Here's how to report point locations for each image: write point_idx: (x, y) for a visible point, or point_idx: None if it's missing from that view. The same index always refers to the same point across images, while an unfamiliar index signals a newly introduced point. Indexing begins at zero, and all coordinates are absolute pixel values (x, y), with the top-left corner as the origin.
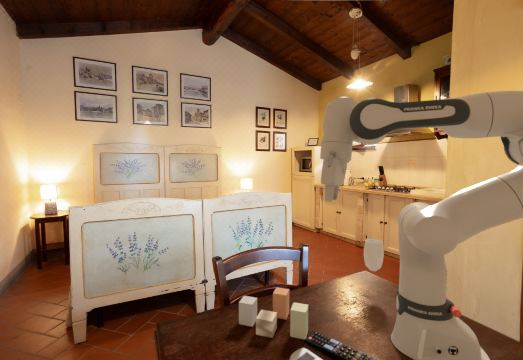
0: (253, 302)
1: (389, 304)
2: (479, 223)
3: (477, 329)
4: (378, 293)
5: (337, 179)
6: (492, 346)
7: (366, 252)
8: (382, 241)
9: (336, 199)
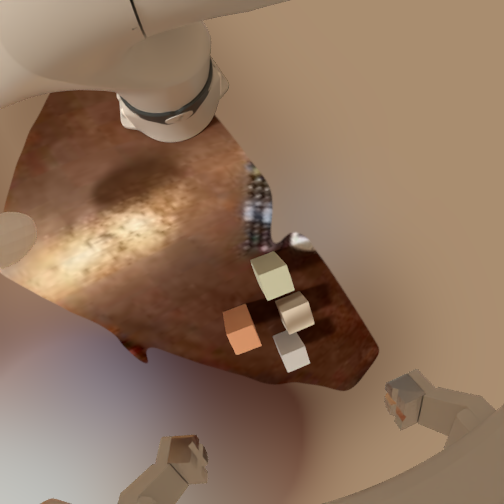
0: (298, 349)
1: (72, 179)
2: None
3: None
4: (47, 212)
5: (498, 458)
6: None
7: (18, 253)
8: None
9: (183, 436)
